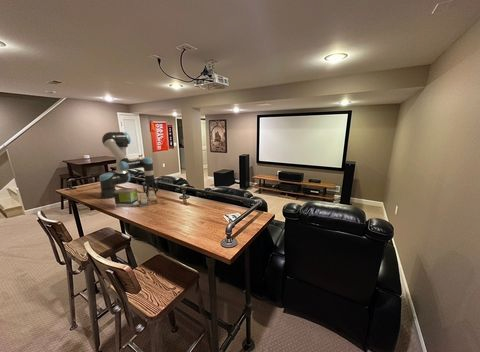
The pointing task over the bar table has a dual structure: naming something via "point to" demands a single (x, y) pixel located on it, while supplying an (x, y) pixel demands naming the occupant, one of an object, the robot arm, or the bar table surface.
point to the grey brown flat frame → (149, 203)
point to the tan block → (143, 198)
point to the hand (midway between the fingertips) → (151, 199)
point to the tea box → (126, 197)
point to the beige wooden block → (151, 195)
